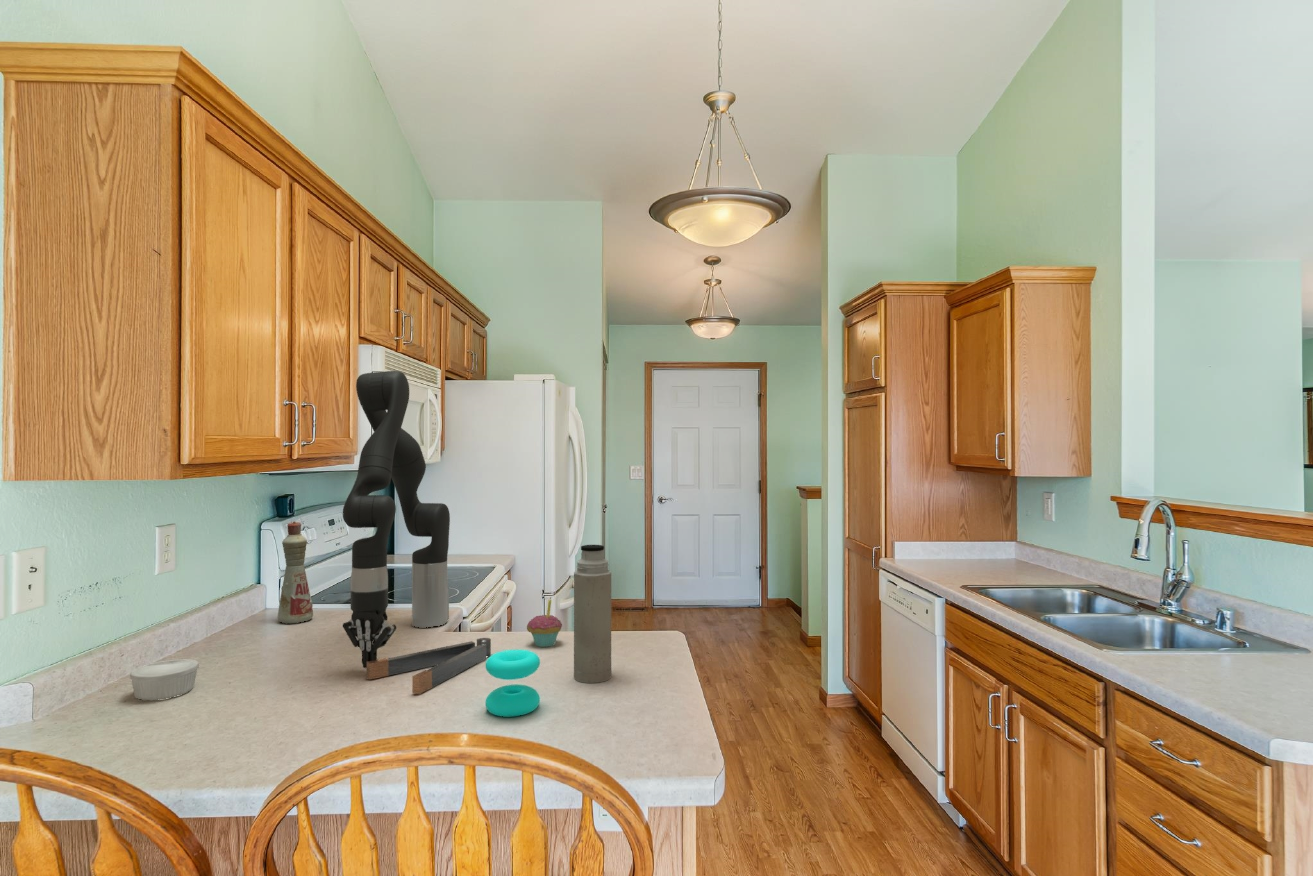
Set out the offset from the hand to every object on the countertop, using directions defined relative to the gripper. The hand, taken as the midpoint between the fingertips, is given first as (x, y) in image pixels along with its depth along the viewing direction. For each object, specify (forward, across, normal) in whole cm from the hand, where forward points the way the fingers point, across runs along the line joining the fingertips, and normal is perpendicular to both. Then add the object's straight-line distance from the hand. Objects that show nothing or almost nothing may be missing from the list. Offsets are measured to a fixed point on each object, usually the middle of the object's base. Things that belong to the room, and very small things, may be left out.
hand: (369, 666), depth 150 cm
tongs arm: (+1, -9, -7) cm, 11 cm away
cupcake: (+1, -26, -31) cm, 41 cm away
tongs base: (+1, -17, -6) cm, 18 cm away
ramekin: (+2, +30, +23) cm, 38 cm away
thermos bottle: (+1, -47, -13) cm, 49 cm away
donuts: (+2, -40, +8) cm, 41 cm away
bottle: (+1, +51, -29) cm, 59 cm away
